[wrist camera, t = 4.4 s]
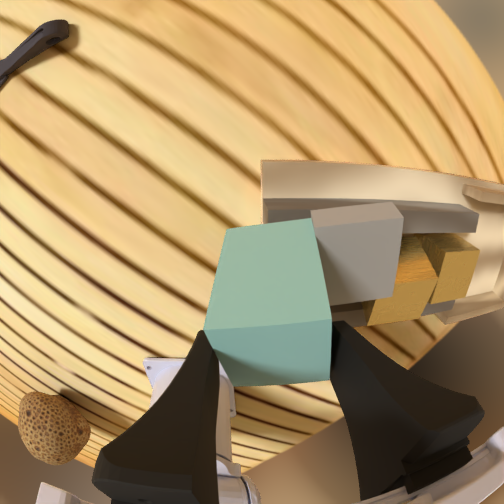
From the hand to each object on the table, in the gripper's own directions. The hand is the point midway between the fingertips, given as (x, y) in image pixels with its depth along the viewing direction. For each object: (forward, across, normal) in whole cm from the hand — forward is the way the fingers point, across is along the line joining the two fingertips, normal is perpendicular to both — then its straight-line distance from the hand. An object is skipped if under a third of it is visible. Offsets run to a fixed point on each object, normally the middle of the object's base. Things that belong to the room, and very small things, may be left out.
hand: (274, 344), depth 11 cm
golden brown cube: (+7, -9, 0) cm, 12 cm away
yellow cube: (+8, -14, 0) cm, 16 cm away
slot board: (+9, -14, 0) cm, 17 cm away
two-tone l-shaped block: (+4, -3, -2) cm, 5 cm away
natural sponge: (+10, +24, +19) cm, 32 cm away
